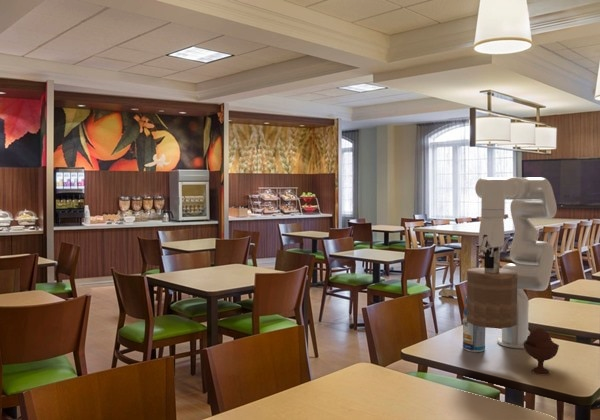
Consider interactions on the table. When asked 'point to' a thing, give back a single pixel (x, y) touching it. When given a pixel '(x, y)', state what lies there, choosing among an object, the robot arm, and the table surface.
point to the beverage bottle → (472, 335)
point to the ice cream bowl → (540, 348)
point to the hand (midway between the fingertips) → (491, 266)
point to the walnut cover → (492, 296)
